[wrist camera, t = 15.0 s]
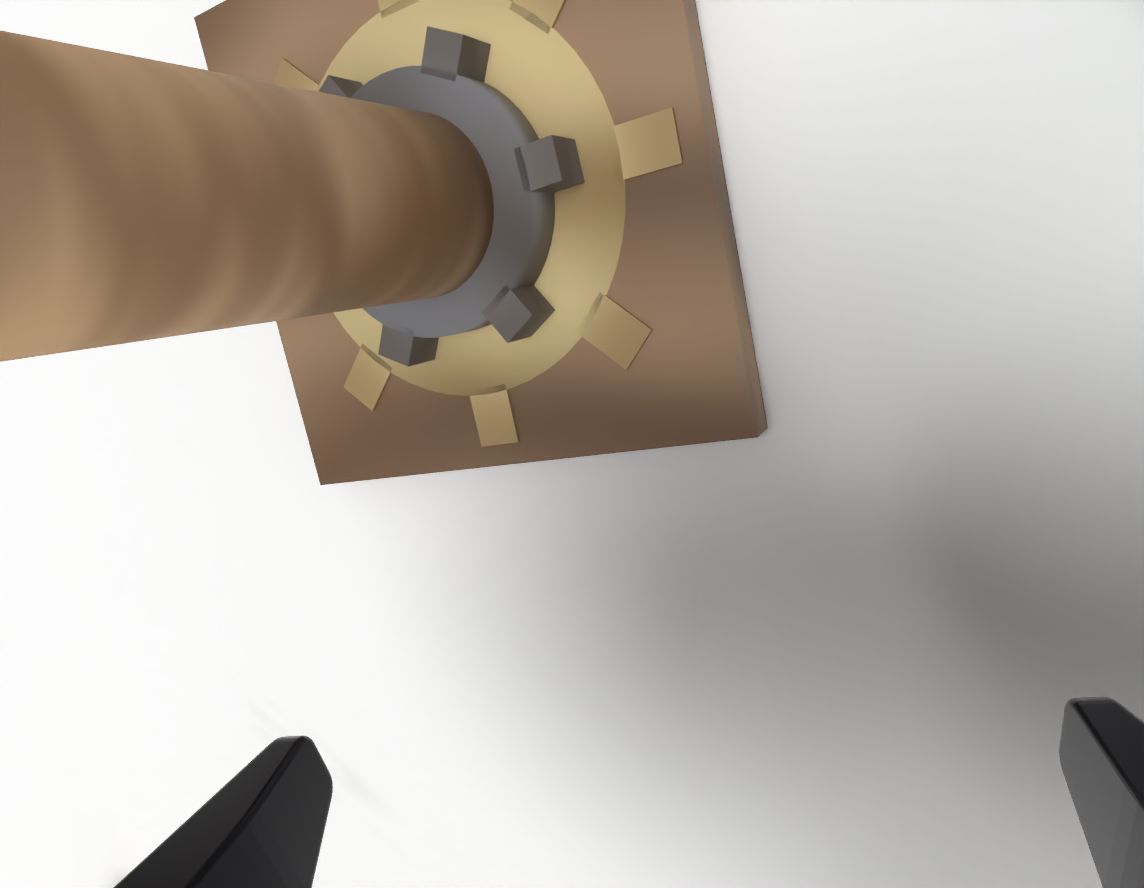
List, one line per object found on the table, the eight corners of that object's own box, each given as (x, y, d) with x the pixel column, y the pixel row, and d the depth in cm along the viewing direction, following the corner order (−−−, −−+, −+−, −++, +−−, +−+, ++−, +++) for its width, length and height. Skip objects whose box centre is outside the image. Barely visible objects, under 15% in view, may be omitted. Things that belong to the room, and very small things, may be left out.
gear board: (766, 427, 20) (756, 437, 19) (342, 476, 26) (318, 485, 25) (660, -204, 17) (641, -229, 16) (222, 25, 24) (191, 16, 23)
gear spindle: (534, 399, 21) (63, 594, 10) (318, 312, 23) (-246, 394, 13) (610, 71, 18) (58, -149, 7) (353, 12, 20) (-345, -218, 10)
